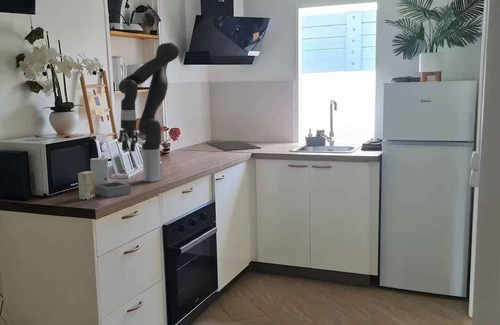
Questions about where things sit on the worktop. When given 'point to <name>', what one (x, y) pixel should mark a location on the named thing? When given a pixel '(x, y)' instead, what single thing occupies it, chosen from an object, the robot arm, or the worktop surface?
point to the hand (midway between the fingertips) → (128, 150)
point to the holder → (112, 189)
